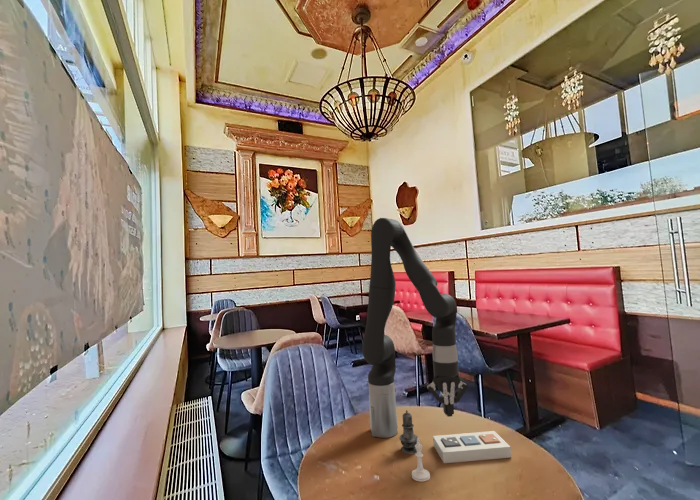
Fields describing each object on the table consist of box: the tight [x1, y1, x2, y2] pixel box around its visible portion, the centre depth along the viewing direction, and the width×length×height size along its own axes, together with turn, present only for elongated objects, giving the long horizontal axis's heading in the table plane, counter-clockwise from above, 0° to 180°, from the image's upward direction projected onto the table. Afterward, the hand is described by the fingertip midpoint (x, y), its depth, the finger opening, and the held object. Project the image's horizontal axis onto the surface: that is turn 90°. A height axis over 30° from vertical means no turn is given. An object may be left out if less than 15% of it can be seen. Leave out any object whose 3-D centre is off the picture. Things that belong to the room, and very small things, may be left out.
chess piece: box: [411, 437, 431, 482], centre depth 91 cm, size 5×5×10 cm
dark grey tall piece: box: [399, 410, 419, 455], centre depth 105 cm, size 6×6×12 cm
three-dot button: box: [441, 437, 460, 448], centre depth 101 cm, size 4×4×3 cm
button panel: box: [432, 430, 512, 464], centre depth 102 cm, size 20×10×3 cm, turn 93°
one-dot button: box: [460, 435, 480, 446], centre depth 102 cm, size 4×4×3 cm
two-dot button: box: [479, 434, 500, 444], centre depth 102 cm, size 4×4×3 cm
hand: (448, 415), depth 103 cm, fingers closed
